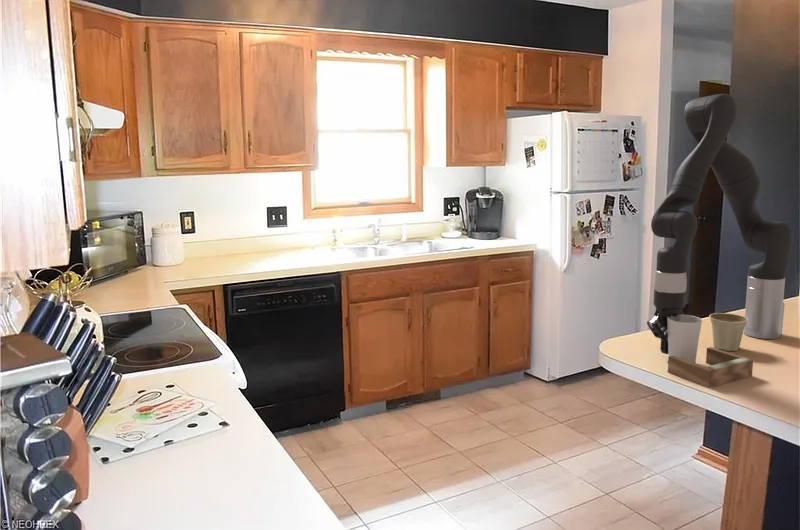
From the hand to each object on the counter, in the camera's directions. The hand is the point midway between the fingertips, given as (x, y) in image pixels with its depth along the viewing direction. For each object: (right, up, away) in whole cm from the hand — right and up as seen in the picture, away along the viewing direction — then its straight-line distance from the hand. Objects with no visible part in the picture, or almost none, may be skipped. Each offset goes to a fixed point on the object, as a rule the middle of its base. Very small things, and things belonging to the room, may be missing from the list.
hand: (666, 353), depth 160 cm
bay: (+6, -3, -11) cm, 13 cm away
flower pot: (+20, 0, +8) cm, 21 cm away
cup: (+2, -2, -4) cm, 5 cm away
